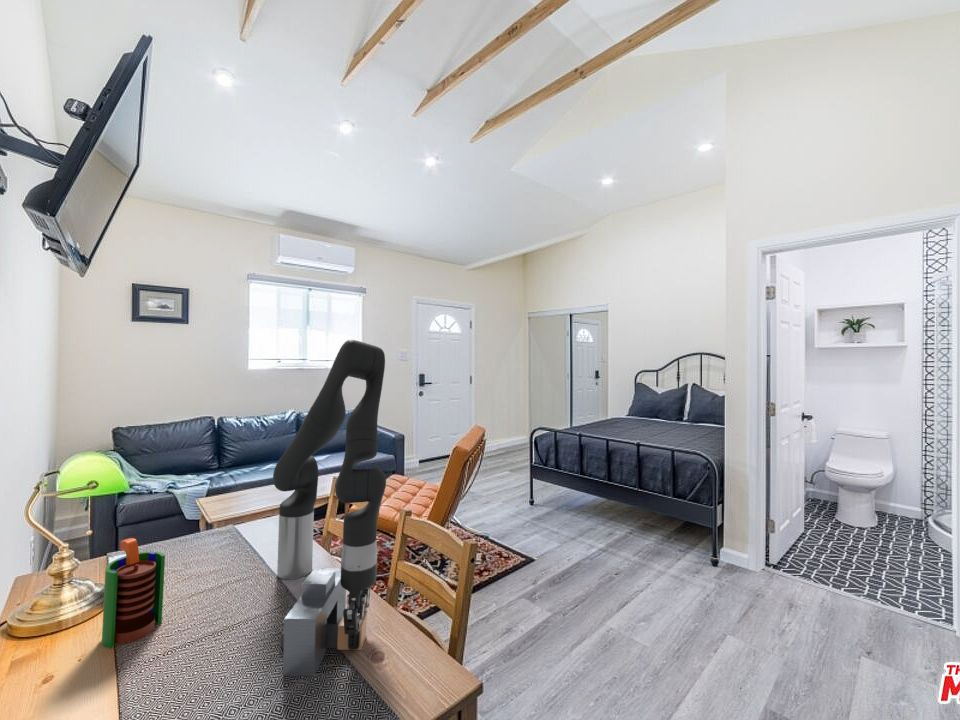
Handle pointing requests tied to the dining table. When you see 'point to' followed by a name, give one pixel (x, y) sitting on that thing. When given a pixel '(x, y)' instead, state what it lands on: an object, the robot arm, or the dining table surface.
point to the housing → (312, 621)
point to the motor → (132, 595)
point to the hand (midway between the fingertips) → (357, 639)
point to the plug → (339, 635)
